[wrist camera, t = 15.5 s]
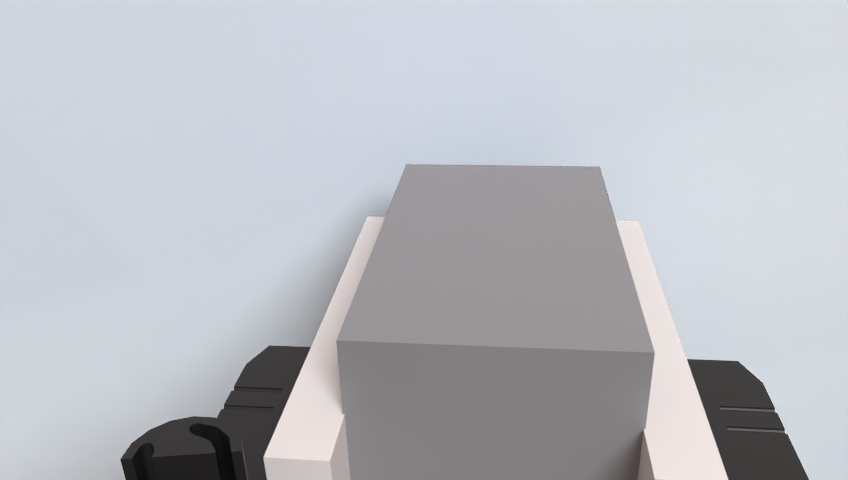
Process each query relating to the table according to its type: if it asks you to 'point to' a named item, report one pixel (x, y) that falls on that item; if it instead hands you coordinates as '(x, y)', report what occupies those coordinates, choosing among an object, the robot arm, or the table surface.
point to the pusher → (496, 332)
